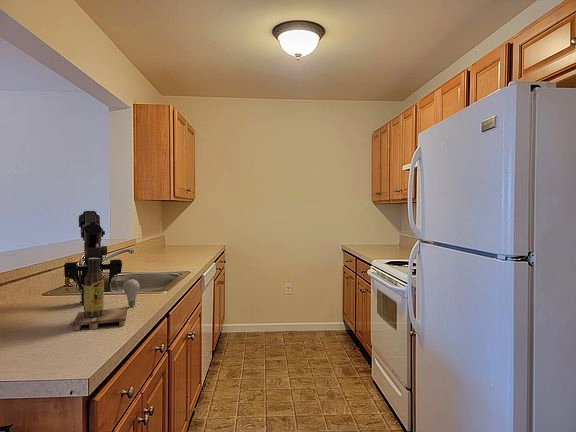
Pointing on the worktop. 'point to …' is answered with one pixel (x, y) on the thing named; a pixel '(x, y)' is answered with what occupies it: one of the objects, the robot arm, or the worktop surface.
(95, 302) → the sauce bottle
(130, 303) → the lightbulb
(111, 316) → the wooden pallet
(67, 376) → the worktop surface
